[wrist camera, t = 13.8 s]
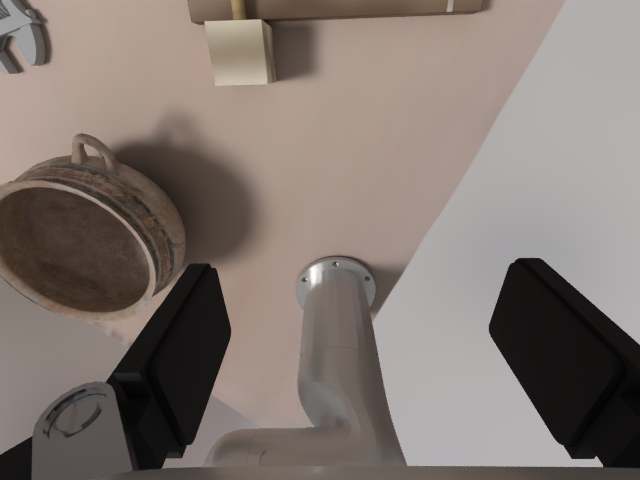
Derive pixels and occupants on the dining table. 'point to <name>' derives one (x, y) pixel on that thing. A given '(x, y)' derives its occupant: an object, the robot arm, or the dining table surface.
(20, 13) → the adjustable wrench
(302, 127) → the dining table surface
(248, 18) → the board
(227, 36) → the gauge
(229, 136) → the dining table surface
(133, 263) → the cooking pot
